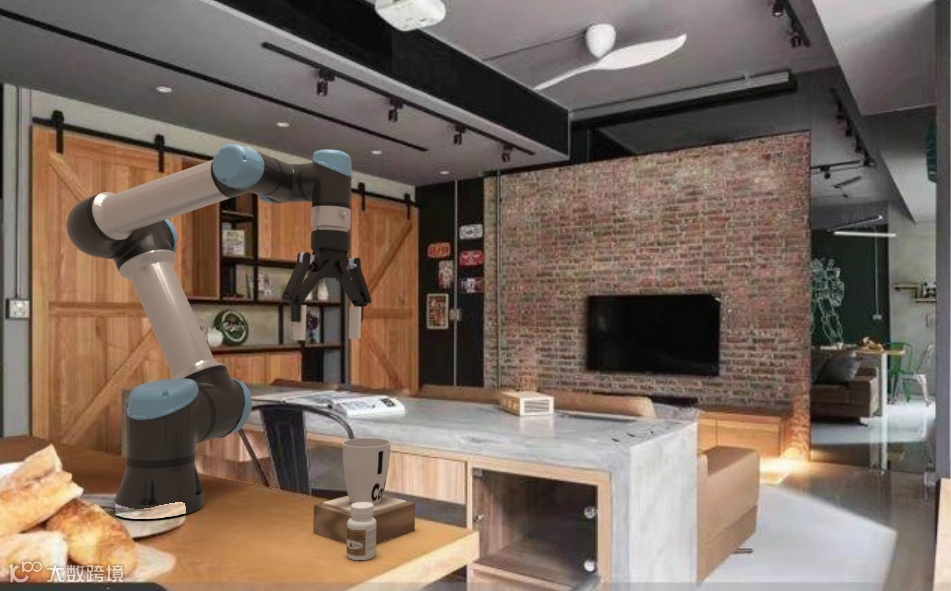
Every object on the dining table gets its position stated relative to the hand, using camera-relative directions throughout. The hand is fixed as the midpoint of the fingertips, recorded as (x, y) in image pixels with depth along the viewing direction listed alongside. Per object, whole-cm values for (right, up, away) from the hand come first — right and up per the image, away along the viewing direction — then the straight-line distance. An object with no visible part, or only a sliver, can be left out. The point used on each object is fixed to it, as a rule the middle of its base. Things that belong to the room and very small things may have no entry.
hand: (328, 339), depth 128 cm
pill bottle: (+11, -31, -28) cm, 43 cm away
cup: (+10, -27, -17) cm, 33 cm away
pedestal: (+10, -31, -17) cm, 37 cm away
